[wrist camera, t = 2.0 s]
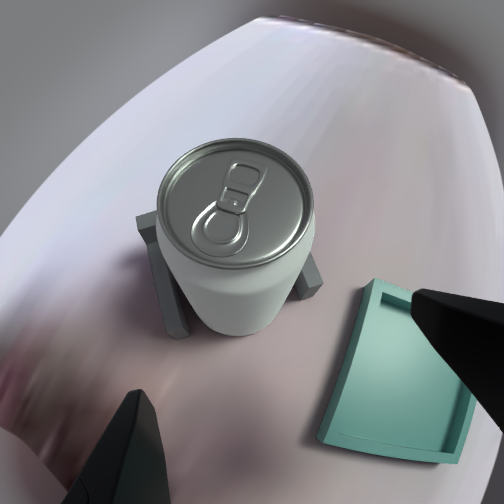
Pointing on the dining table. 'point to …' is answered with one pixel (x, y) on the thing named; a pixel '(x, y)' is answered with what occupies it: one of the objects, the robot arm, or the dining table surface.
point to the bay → (167, 286)
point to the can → (235, 230)
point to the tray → (396, 387)
